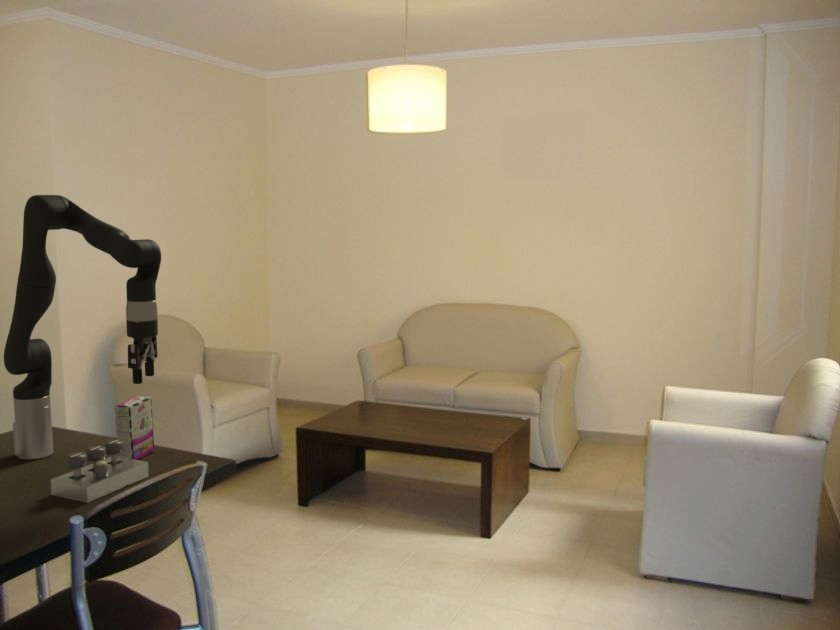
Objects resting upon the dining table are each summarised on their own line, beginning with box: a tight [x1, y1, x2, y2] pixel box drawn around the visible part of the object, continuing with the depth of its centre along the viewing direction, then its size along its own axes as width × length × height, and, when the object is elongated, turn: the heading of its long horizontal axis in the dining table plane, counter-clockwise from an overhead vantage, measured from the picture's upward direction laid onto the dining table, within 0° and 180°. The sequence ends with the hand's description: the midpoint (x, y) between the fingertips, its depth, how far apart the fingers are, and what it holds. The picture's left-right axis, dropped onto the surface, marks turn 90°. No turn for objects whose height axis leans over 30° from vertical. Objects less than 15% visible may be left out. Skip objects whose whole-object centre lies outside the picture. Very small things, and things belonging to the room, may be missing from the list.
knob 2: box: [84, 445, 107, 472], centre depth 191 cm, size 5×5×6 cm
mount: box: [50, 456, 150, 504], centre depth 191 cm, size 12×20×4 cm, turn 156°
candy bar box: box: [114, 395, 155, 461], centre depth 213 cm, size 11×5×16 cm, turn 168°
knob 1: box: [65, 451, 88, 480], centre depth 186 cm, size 5×5×6 cm
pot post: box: [95, 460, 108, 478], centre depth 187 cm, size 3×3×4 cm
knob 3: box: [103, 438, 124, 465], centre depth 197 cm, size 5×5×6 cm
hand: (143, 379), depth 195 cm, fingers open, 8 cm apart
